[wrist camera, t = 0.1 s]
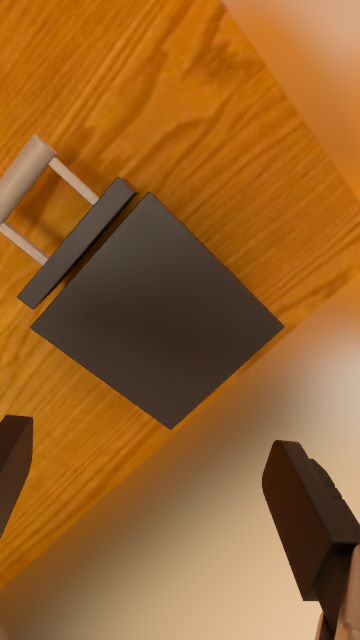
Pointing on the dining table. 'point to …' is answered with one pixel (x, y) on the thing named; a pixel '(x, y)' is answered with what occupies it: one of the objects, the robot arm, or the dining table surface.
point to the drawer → (17, 182)
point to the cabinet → (157, 316)
